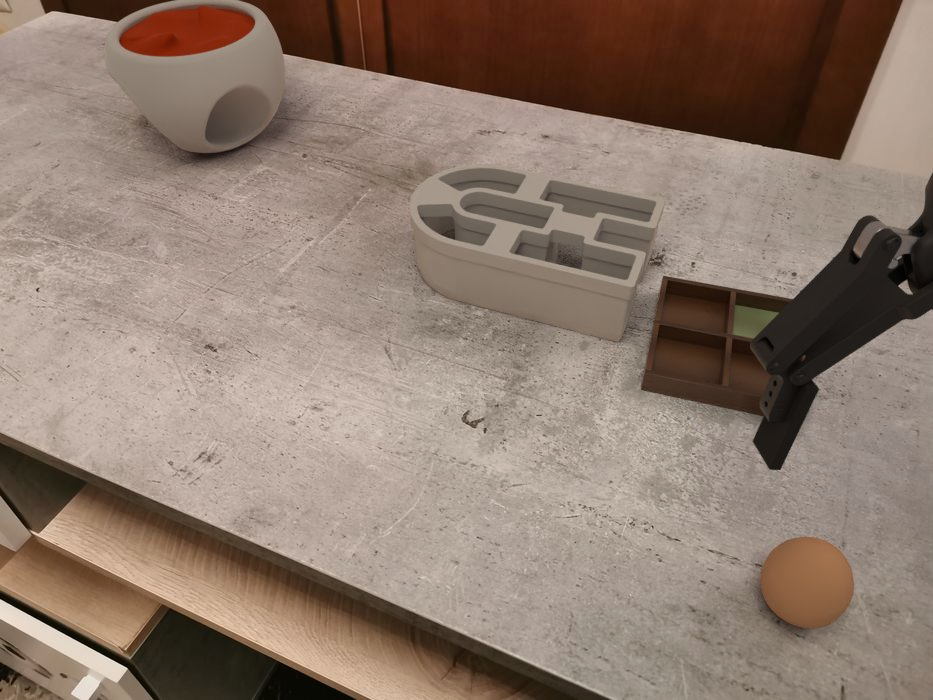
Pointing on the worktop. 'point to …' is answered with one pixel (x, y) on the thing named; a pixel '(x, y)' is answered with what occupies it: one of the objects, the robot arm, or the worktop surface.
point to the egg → (807, 582)
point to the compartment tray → (709, 344)
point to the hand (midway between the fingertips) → (862, 459)
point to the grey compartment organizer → (534, 245)
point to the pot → (199, 70)
